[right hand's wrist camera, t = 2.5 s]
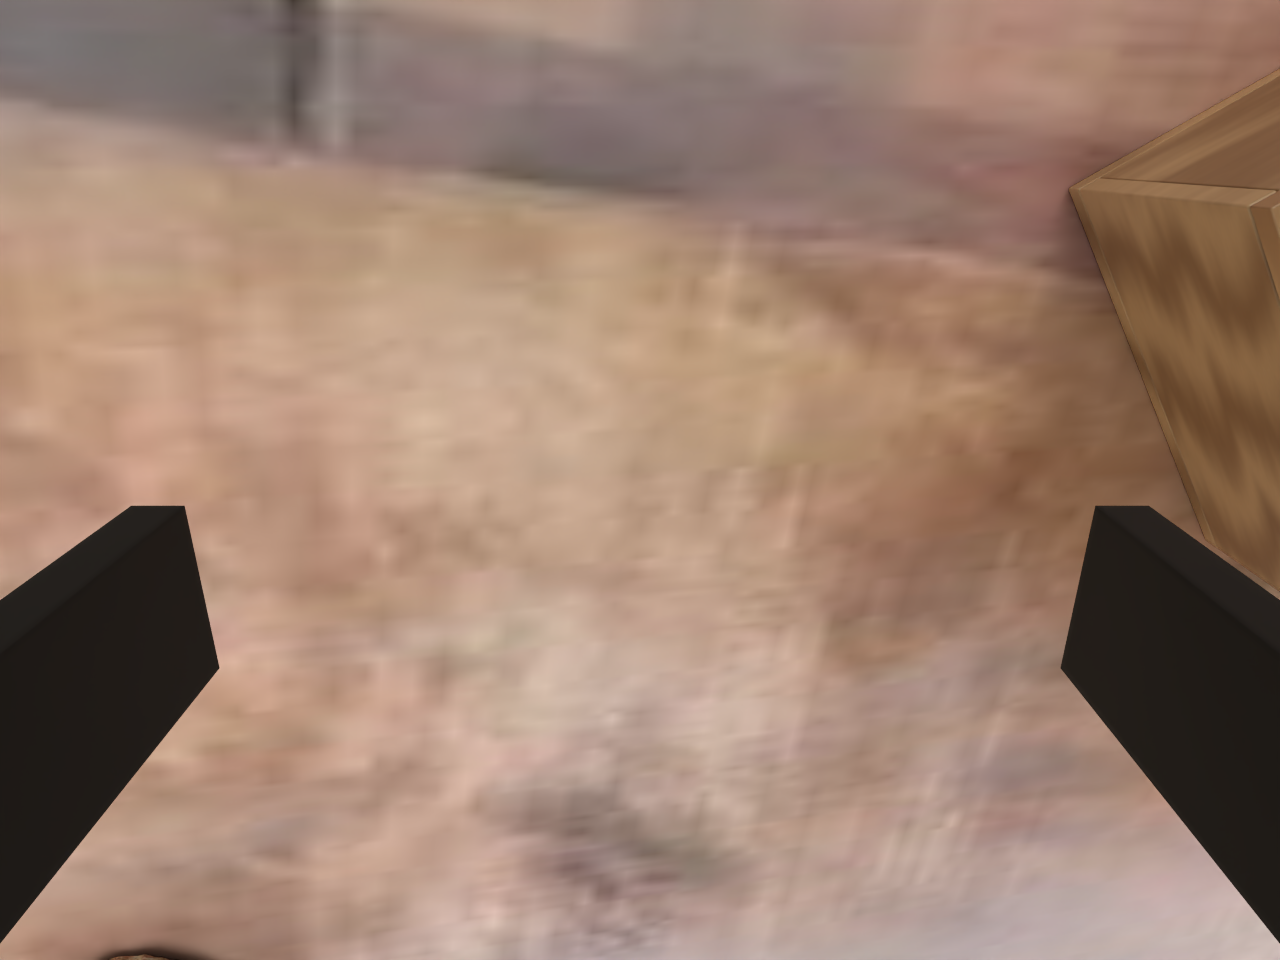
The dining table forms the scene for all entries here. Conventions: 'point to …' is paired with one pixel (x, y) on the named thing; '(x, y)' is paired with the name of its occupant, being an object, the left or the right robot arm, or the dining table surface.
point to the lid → (1269, 232)
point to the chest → (1204, 307)
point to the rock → (138, 958)
